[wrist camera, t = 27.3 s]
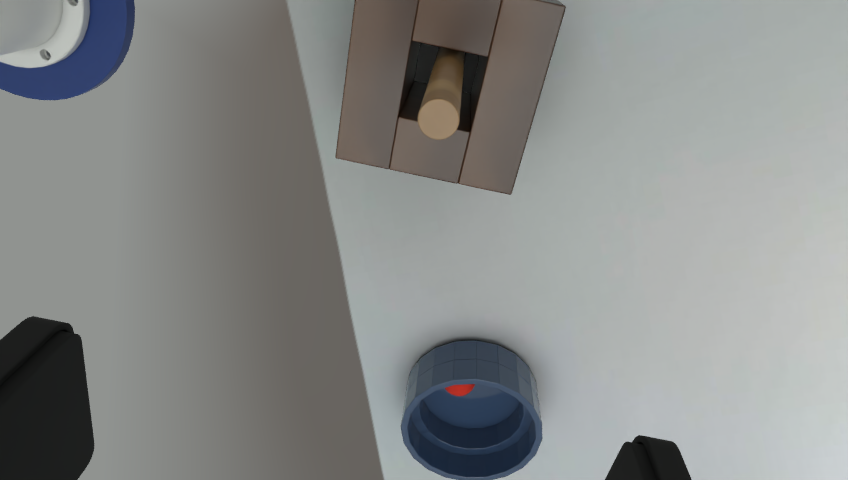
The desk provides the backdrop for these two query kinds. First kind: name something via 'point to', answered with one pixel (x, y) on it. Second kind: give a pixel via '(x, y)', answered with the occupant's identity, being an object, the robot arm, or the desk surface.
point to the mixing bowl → (472, 412)
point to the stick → (443, 96)
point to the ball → (460, 389)
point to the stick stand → (481, 110)
